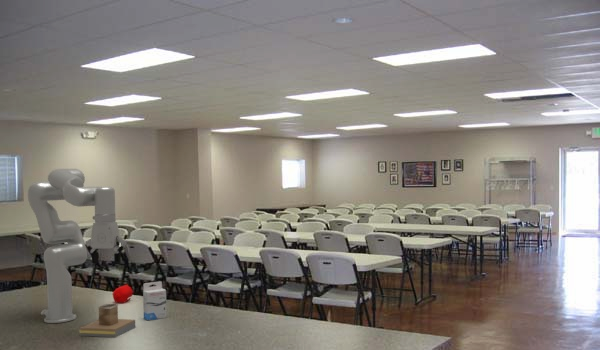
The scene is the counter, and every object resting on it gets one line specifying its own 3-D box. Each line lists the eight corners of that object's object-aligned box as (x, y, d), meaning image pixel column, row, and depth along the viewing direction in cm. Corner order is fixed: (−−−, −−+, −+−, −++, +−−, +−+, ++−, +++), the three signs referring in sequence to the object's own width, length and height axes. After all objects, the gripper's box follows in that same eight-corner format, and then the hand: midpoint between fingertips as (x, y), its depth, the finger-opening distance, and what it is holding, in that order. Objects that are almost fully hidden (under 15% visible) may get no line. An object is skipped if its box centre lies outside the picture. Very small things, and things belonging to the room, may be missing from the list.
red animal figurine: (107, 292, 267) (116, 289, 275) (114, 307, 266) (123, 303, 274) (120, 286, 265) (129, 282, 273) (127, 301, 265) (136, 296, 272)
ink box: (147, 320, 231) (146, 285, 231) (143, 318, 236) (142, 283, 236) (167, 317, 236) (166, 282, 236) (163, 315, 240) (162, 280, 240)
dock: (79, 336, 211) (79, 328, 211) (101, 326, 225) (101, 318, 225) (114, 337, 207) (114, 329, 207) (135, 327, 221) (135, 319, 221)
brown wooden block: (98, 325, 214) (98, 306, 214) (106, 321, 219) (106, 303, 219) (110, 325, 213) (110, 307, 213) (118, 322, 218) (117, 304, 218)
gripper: (79, 219, 216) (80, 264, 216) (119, 219, 211) (120, 265, 211) (91, 218, 223) (92, 261, 223) (130, 218, 219) (131, 262, 219)
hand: (106, 263), depth 217 cm, fingers open, 9 cm apart
